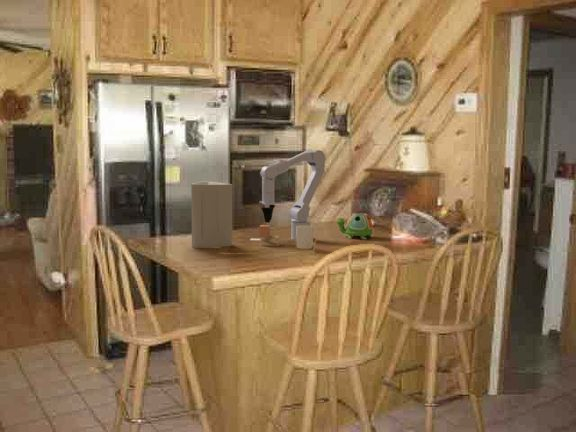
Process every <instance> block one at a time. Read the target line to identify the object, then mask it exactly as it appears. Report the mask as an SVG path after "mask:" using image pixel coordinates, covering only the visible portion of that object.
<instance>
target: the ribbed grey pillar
mask: <svg viewBox="0 0 576 432" xmlns="http://www.w3.org/2000/svg"><path fill="white" fill-rule="evenodd" d="M190 192H191V201H190V202H191V247H192V248H195V249H196V248H197V249H198V248H199V249H200V248H201V249H222V248H223V247H231V246H233V184H231V183H225V182H218V181H217V182H216V181H198V182H195V183H194V182H193V183H191V191H190Z"/></svg>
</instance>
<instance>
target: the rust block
mask: <svg viewBox="0 0 576 432" xmlns="http://www.w3.org/2000/svg"><path fill="white" fill-rule="evenodd" d="M270 236H271V225H270V224H260V225H259V238H260V237H267V238H269V237H270Z"/></svg>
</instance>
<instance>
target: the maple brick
mask: <svg viewBox="0 0 576 432" xmlns="http://www.w3.org/2000/svg"><path fill="white" fill-rule="evenodd" d="M259 239H260V243H259V246H266V245H274V246H273V247H279V246H280V235H270V237H269V238H267V237H259ZM278 245H279V246H278Z"/></svg>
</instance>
